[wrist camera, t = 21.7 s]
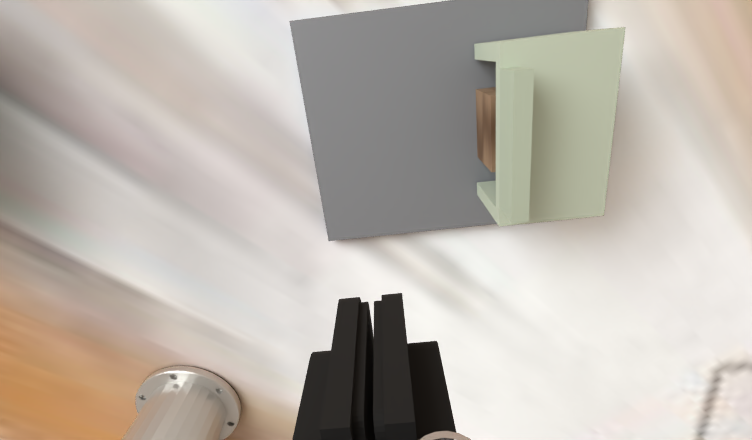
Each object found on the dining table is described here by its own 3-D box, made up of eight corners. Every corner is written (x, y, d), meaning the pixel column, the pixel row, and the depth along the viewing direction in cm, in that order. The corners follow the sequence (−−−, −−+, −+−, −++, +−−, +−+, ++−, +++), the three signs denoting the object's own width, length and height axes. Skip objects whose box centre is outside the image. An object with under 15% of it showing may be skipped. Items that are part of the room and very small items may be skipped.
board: (565, 211, 41) (591, 233, 36) (330, 235, 42) (323, 260, 37) (582, -16, 33) (617, -27, 28) (292, 21, 34) (278, 17, 29)
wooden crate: (543, 149, 37) (567, 163, 32) (477, 157, 37) (491, 172, 33) (546, 80, 35) (571, 85, 30) (475, 89, 35) (490, 95, 30)
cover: (562, 185, 38) (626, 231, 28) (476, 194, 38) (511, 243, 29) (573, 31, 33) (655, 24, 23) (474, 43, 33) (514, 41, 24)
